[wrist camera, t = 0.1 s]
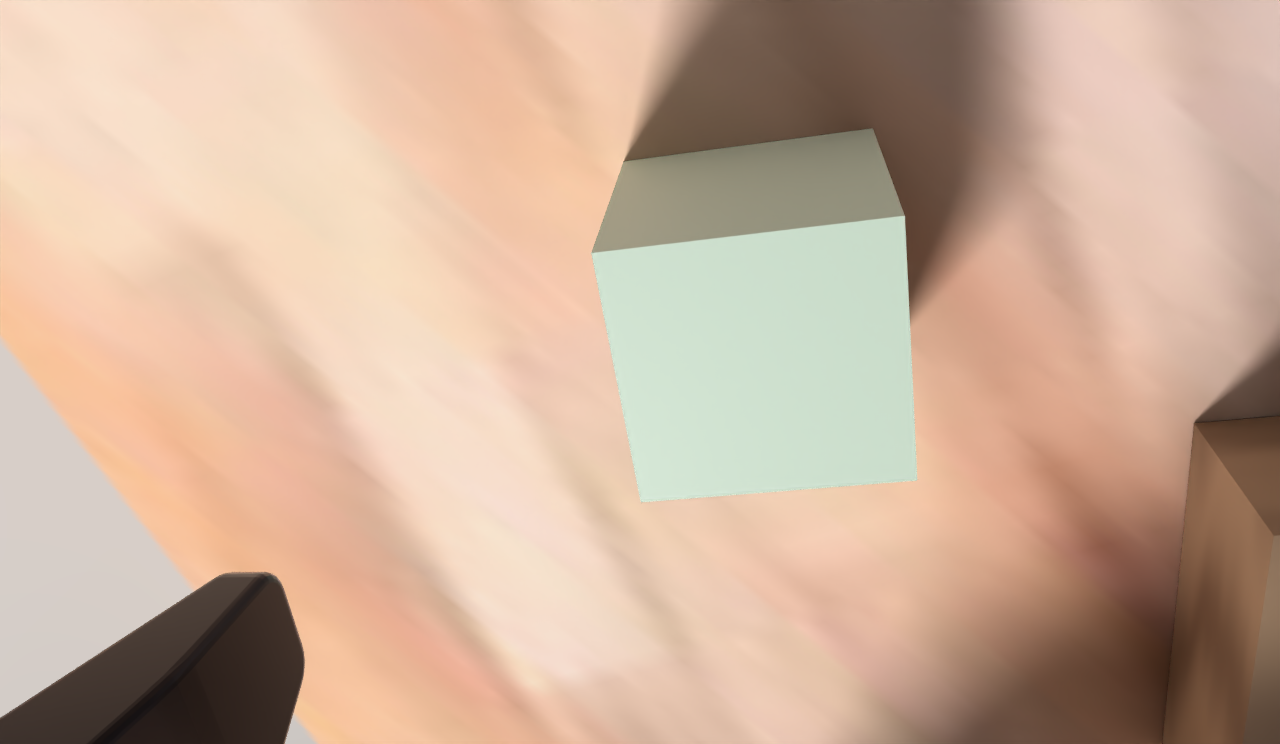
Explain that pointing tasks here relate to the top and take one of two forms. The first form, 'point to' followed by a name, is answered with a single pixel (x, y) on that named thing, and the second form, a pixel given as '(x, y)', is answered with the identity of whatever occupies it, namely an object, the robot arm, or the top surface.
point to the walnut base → (1228, 590)
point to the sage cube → (760, 318)
